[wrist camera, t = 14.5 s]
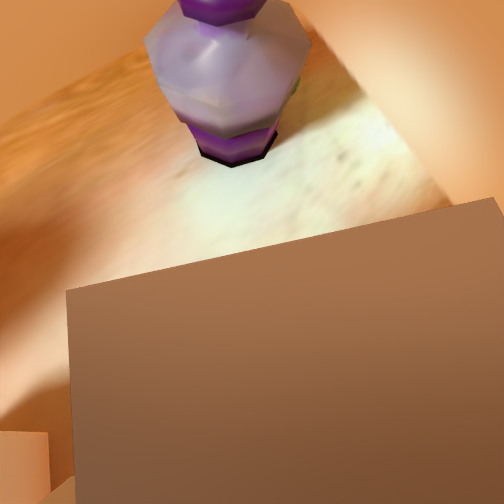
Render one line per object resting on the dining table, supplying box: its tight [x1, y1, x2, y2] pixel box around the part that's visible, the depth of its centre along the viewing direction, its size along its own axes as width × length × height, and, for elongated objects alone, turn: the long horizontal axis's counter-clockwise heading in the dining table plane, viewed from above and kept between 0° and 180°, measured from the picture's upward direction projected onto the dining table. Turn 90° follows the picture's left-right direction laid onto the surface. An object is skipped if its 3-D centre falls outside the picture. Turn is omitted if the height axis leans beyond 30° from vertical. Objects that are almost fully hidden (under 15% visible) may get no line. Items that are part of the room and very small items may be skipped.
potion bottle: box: [143, 0, 312, 168], centre depth 22 cm, size 9×9×12 cm
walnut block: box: [66, 197, 504, 504], centre depth 11 cm, size 5×5×16 cm
